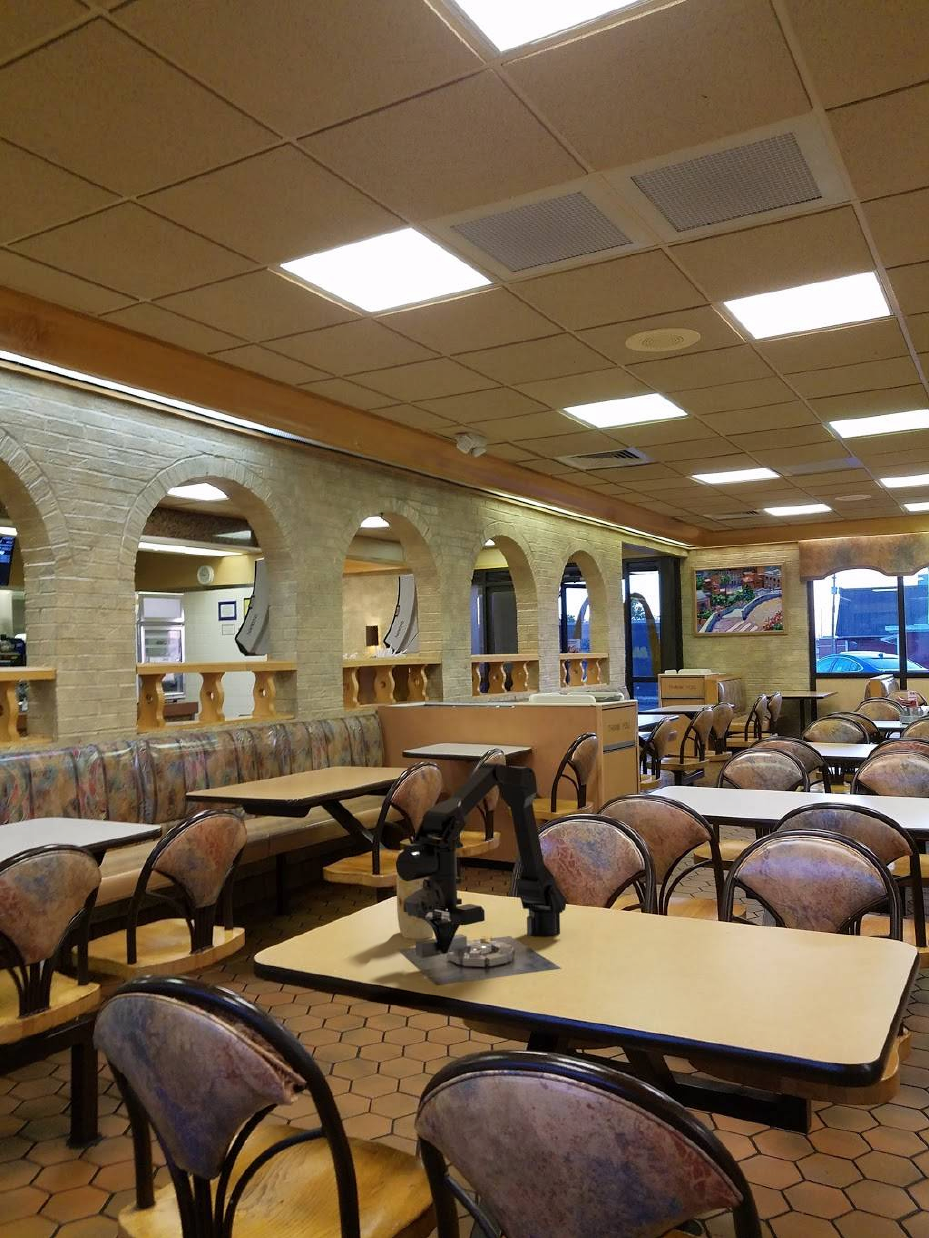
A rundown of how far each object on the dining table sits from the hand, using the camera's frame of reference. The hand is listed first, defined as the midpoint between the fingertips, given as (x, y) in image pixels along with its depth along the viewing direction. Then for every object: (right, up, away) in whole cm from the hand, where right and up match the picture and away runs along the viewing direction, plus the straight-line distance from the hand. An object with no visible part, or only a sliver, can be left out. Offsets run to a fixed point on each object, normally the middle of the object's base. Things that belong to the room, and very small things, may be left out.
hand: (444, 953), depth 193 cm
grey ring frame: (+4, -3, +5) cm, 7 cm away
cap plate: (+7, -4, +7) cm, 10 cm away
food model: (-7, -6, +26) cm, 28 cm away
